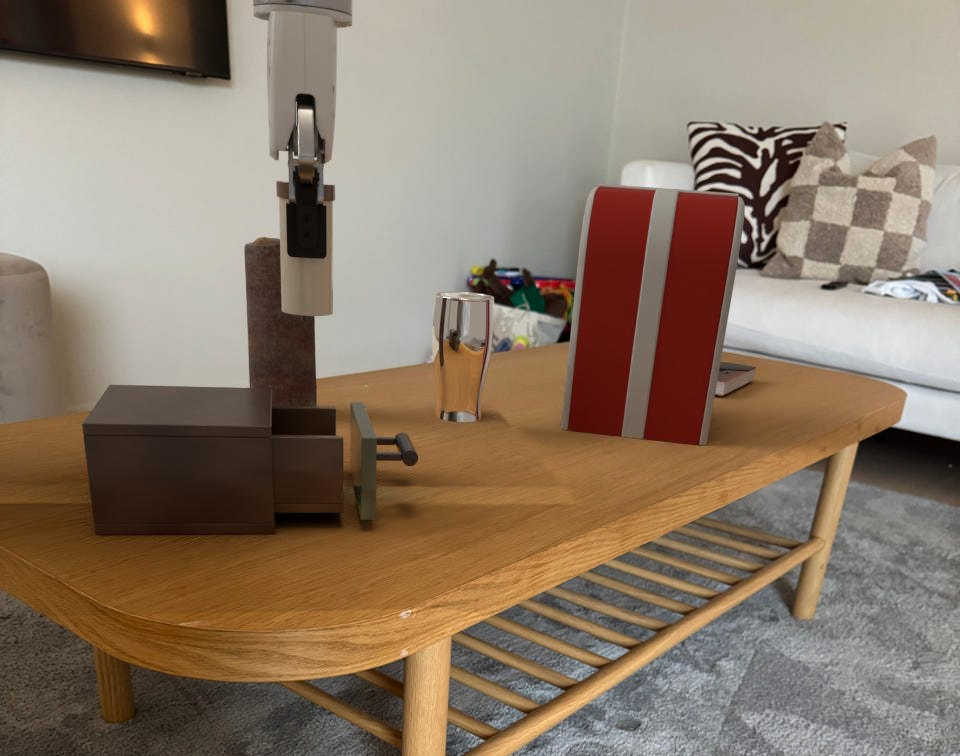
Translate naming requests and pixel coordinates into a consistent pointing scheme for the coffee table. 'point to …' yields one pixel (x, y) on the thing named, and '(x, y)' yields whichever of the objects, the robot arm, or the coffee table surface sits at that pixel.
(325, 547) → the coffee table surface
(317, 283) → the spice jar
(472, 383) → the beer glass
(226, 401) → the cabinet
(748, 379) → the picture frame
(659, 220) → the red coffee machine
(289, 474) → the drawer
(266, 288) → the candle
